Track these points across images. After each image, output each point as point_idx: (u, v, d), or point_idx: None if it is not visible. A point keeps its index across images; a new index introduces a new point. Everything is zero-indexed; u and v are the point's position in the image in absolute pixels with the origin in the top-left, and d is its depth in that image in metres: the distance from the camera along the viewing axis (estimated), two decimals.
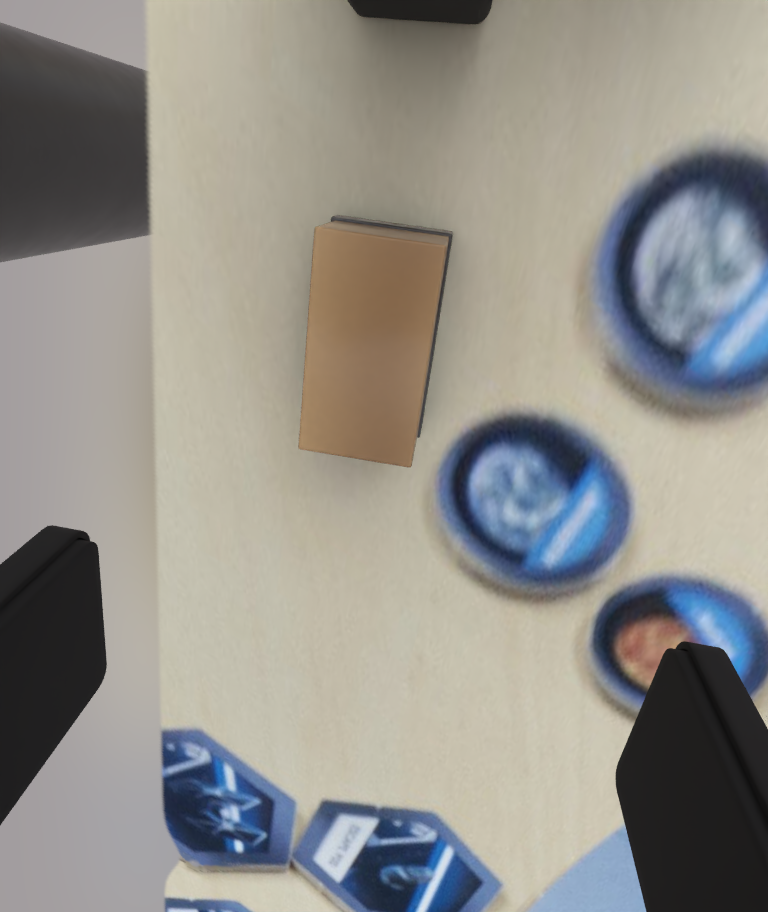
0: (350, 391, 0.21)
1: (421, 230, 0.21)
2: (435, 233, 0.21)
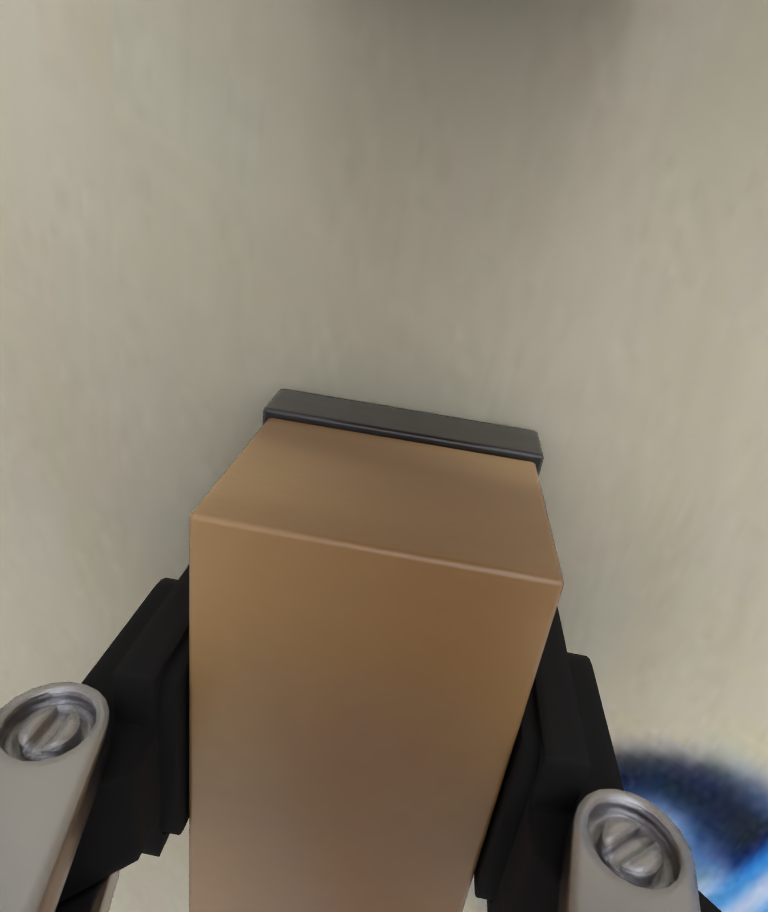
0: (301, 846, 0.09)
1: (471, 445, 0.09)
2: (503, 452, 0.09)
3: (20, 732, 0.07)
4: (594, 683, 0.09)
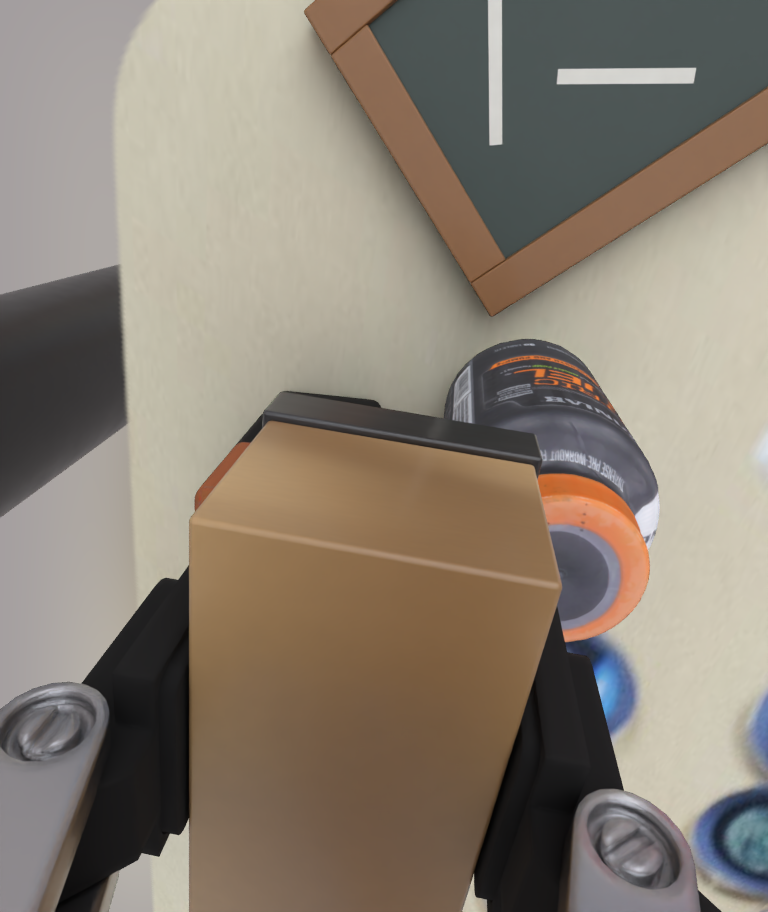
0: (300, 847, 0.09)
1: (470, 447, 0.09)
2: (503, 455, 0.09)
3: (20, 732, 0.07)
4: (594, 684, 0.09)
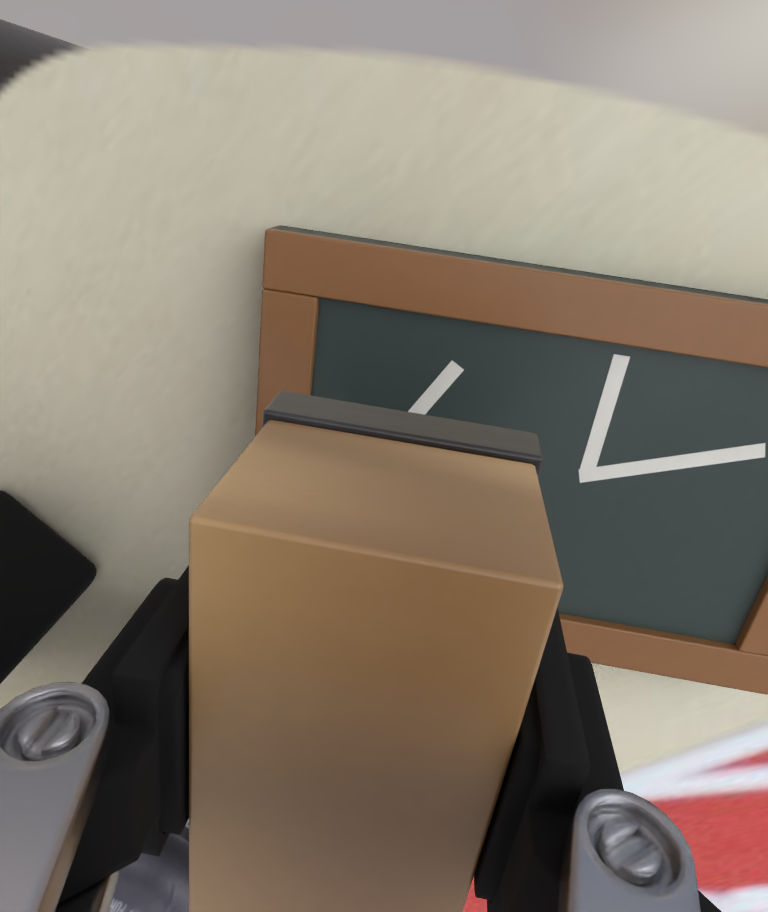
0: (301, 848, 0.09)
1: (471, 447, 0.09)
2: (503, 454, 0.09)
3: (20, 732, 0.07)
4: (594, 684, 0.09)
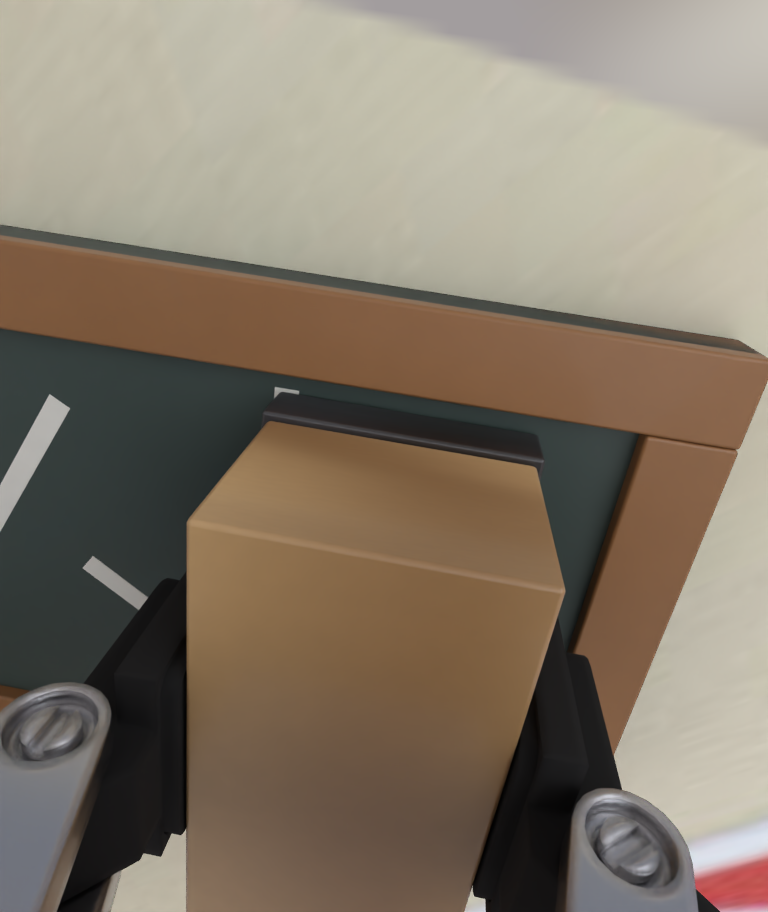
0: (299, 854, 0.08)
1: (472, 449, 0.09)
2: (504, 456, 0.09)
3: (22, 732, 0.07)
4: (592, 683, 0.09)
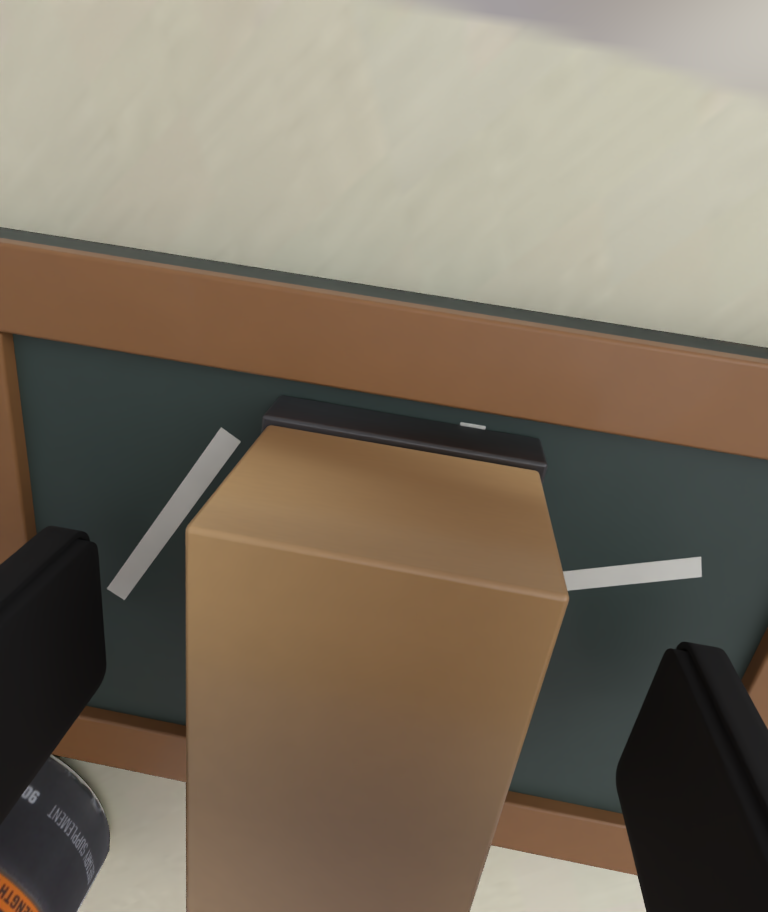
0: (299, 863, 0.08)
1: (474, 453, 0.09)
2: (507, 460, 0.09)
3: None
4: None
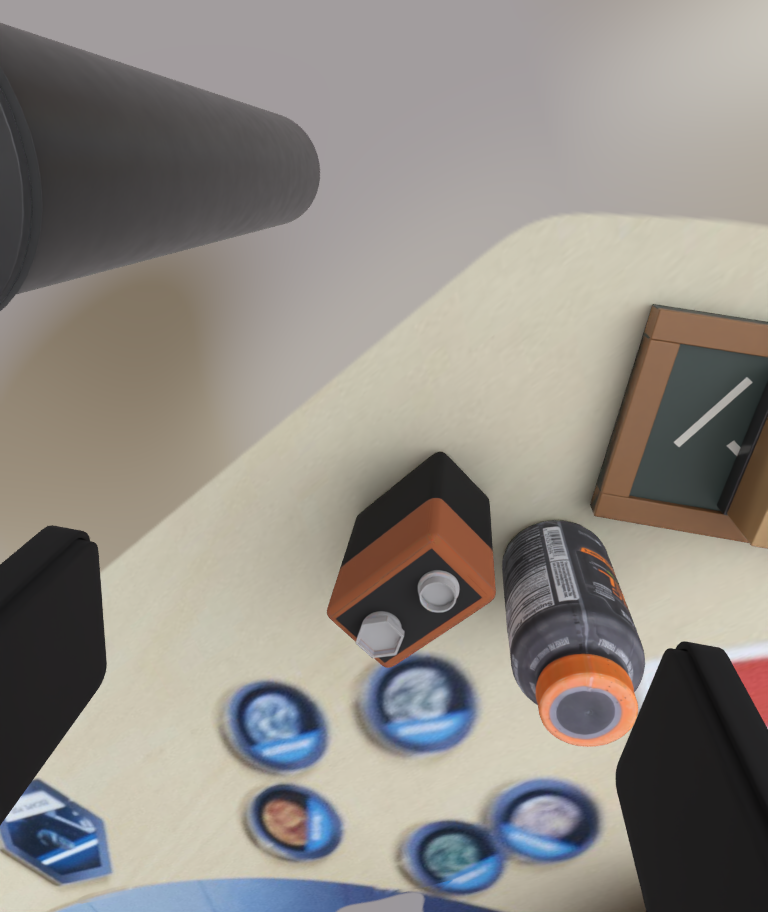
0: None
1: None
2: None
3: None
4: None
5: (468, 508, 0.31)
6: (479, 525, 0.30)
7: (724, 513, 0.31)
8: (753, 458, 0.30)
